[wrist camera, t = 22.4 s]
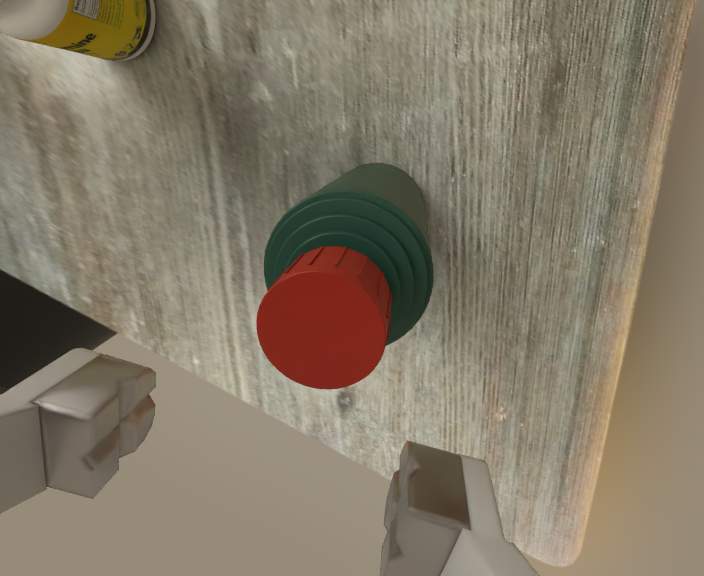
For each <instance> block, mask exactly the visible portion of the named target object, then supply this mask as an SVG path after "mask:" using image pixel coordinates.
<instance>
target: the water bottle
mask: <svg viewBox="0 0 704 576" xmlns="http://www.w3.org/2000/svg"><path fill="white" fill-rule="evenodd" d="M321 246H324V247H327V246H337V247H347V248H349V249H352V250H354V251H357V252H359V253H361V254H363V255H364V256H368V258H369V259H370V260H371V261H372V262H373V263H375V264H376V265H377V267H378V268H379V269H380V270H381V272H383V273H384V276H385V279H386V281H387V283H388V286H389V289H390V292H392V299H391V308H390V313H391V320H390V328H389V336H388V342H386V345H388V344H390V343H392V342H394V341H396V340H398V339H399V338H401V337H402V336H404V335H405V334H406V333H407V332H408V331H409V330H410V329H412V328H413V326H414V325H415V324H416V323H417V322H418V321H419V319H420V318H421V316H422V315H423V313H424V311H425V309H426V307H427V305H428V303H429V300H430V296H431V293H432V288H433V281H434V269H433V262H432V255H431V247H430V240H429V233H428V226H427V218H426V211H425V204H424V199H423V196H422V193H421V191H420V189H419V187H418V186H417V184H416V183H415V181H414V180H413V179H412V178H411V177H410V176H409V175H408V174H407V173H405V172H404V171H403V170H401V169H399V168H397V167H395V166H392V165H388V164H384V163H370V164H364V165H361V166H359V167H356V168H354V169H352V170H351V171H349V172H347V173H346V174H344V175H343V176H341V177H339V178H338V179H336V180H334V181H333V182H331V183H330V184H328V185H326V186H325V187H323V188H321V189H320V190H318V191H317V192H315V193H313V194H312V195H310V196H308V197H307V198H305V199H304V200H302V201H300V202H299V203H298V204H296V205H295V206H293V207H292V208H291V209H290V210H289V211H288V212H286V213H285V214H284V215H283V217H282V218H281V219H280V220H279V222H278V223H277V224H276V226H275V228H274V230H273V231H272V233H271V236H270V238H269V240H268V243H267V247H266V251H265V258H264V276H265V282H266V286H267V290H268V289H269V287H270V286H271V285H272V284H273V283H274V282H275V281H276V280H277V279H278V278H279V277H280V275H281V274H282V273H283V272H284V271H285V270H286V269H287V268H289V267H290V266H291V265H292V264H293V263H294V262H295V260H296V259H297V258H298V257H299V256H300V255H301V254H302V253H304V254H305V253H307V252H309V251H311V250H314V249H317V248H321ZM268 291H269V290H268ZM386 345H385V346H386Z"/></svg>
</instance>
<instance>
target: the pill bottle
mask: <svg viewBox="0 0 704 576" xmlns="http://www.w3.org/2000/svg"><path fill="white" fill-rule="evenodd" d="M154 28H155V5H154V0H0V32H1V33H3V34H5V35H8V36H11V37H14V38H16V39H20V40H24V41H29V42H34V43H38V44H42V45H47V46H51V47H56V48H60V49H65V50H69V51H73V52H77V53H81V54H85V55H90V56H94V57H98V58H102V59H107V60H113V61H126V60H130V59H133V58H135V57H137V56H138V55H140V54H141V53H142V52H143V51H144V50H145V49H146V47H147V46H148V45H149V43H150V41H151V39H152V36H153V32H154Z"/></svg>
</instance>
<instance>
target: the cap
mask: <svg viewBox="0 0 704 576" xmlns="http://www.w3.org/2000/svg"><path fill="white" fill-rule="evenodd" d="M268 290H269V291H268V292H267V293H266V295H265V296H264V298H263V299H262V302H261V304H260V306H259V310H258V313H257V334H258V339H259V342H260V345H261V347H262V349H263V351H264V353H265V355H266V356H267V358H268V359H269V361H270V362H271V363H272V364H273V365H274V366H275V367H276V369H277V370H279V371H280V372H281V373H282V374H283V375H285V376H286V377H288V378H289V379H291V380H293V381H295V382H297V383H299V384H302V385H305V386H308V387H312V388H317V389H338V388H343V387H347V386H350V385H353V384H355V383H357V382H359V381H360V380H362V379H363V378H365V377H366V376H367V375H369V374H370V373H371V372H372V371H373V370H374V368H375V367H376V366H377V364H378V363H379V361H380V360H381V357H382V355H383V353H384V349H385V345H386V342H388V336H389V328H390V320H391V313H390V308H391V299H392V292H390V289H389V286H388V283H387V281H386V279H385V276H384V273H383V272H381V270H380V269H379V268H378V267H377V265H376V264H375V263H373V262H372V261H371V260H370V259H369V258H368V256H364V255H363V254H361V253H359V252H357V251H354V250H352V249H349V248H347V247H337V246H327V247H324V246H321V248H317V249H314V250H311V251H309V252H307V253H305V254H304V253H302V254H301V255H300V256H299V257H298V258H297V259H296V260H295V262H294V263H293V264H292V265H291V266H290V267H289V268H287V269H286V270H285V271H284V272H283V273H282V274H281V275H280V277H279V278H278V279H277V280H276V281H275V282H274V283H273V284H272V285H271V286H270V287H269V289H268Z"/></svg>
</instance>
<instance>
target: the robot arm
mask: <svg viewBox="0 0 704 576" xmlns="http://www.w3.org/2000/svg"><path fill="white" fill-rule="evenodd" d="M155 387H156V372H154V371H153V370H152V369H151V368H148V367H144V366H141V365H138V364H134V363H132V362H128V361H125V360H122V359H118V358H115V357H112V356H108V355H103V354H101V353H97V352H94V351H91V350H88V349H84V348H78V349H73V350H71V351H70V352H68V353H66V354H65V355H63V356H62V357H60V358H59V359H57V360H55V361H54V362H52V363H51V364H49V365H47V366H46V367H44V368H43V369H41V370H40V371H38V372H36V373H35V374H33V375H32V376H30V377H28V378H27V379H25V380H24V381H22V382H20V383H19V384H17V385H16V386H14V387H13V388H11V389H9V390H8V391H6V392H5V393H3V394H0V513H2V512H4V511H6V510H8V509H10V508H12V507H14V506H16V505H18V504H19V503H21V502H23V501H25V500H27V499H29V498H31V497H33V496H35V495H36V494H39V493H41V492H43V491H44V490H46V487H50V488H54V489H58V490H62V491H65V492H69V493H73V494H76V495H80V496H84V497H88V498H91V499H93V498H94V497H95V496H96V495H97V494H98V493H99V491H100V490H101V489H102V488H103V487H104V486H105V484H106V483H107V482H108V481H109V480H110V479H111V478H112V477H113V476H114V474H115V473H116V472H117V471H118V470H119V458H120V457H123V456H125V455H128V454H130V453H132V452H135V450H136V449H137V448H138V447H139V446H140V445H141V443H142V442H143V441H144V439H145V437H146V436H147V434H148V432H149V430H150V428H151V426H152V423H153V419H154V415H155V403H154V402H153V400H152V399H151V397H150V395H149V393H150V392H151V391H152V390H153V389H154V388H155ZM384 526H385V528H386V529H387V531H388V532H387V535H386V537H385V540H384V543H383V546H382V553H381V567H380V576H539V575H538V574H537V572H536V571H535V570H534V568H533V567H532V566H531V565H530V563H529V562H528V561H527V559H526V558H525V557H524V556H523V555H522V553H521V552H520V551H519V549H518V548H517V547H516V546H515V544H514V543H511V542H508V541H505V538H504V534H503V529H502V525H501V520H500V516H499V512H498V507H497V503H496V498H495V494H494V489H493V485H492V481H491V476H490V472H489V467H488V464H487V463H486V462H485V461H484V460H480V459H477V458H473V457H469V456H465V455H461V454H458V455H457V454H455V453H451V452H448V451H444V450H440V449H437V448H433V447H429V446H426V445H422V444H418V443H415V442H411V441H406V443H405V444H404V447H403V449H402V452H401V455H400V467H399V470H398V471H396V472H395V473H394V475H393V478H392V481H391V484H390V488H389V492H388V496H387V501H386V508H385V517H384Z"/></svg>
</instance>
